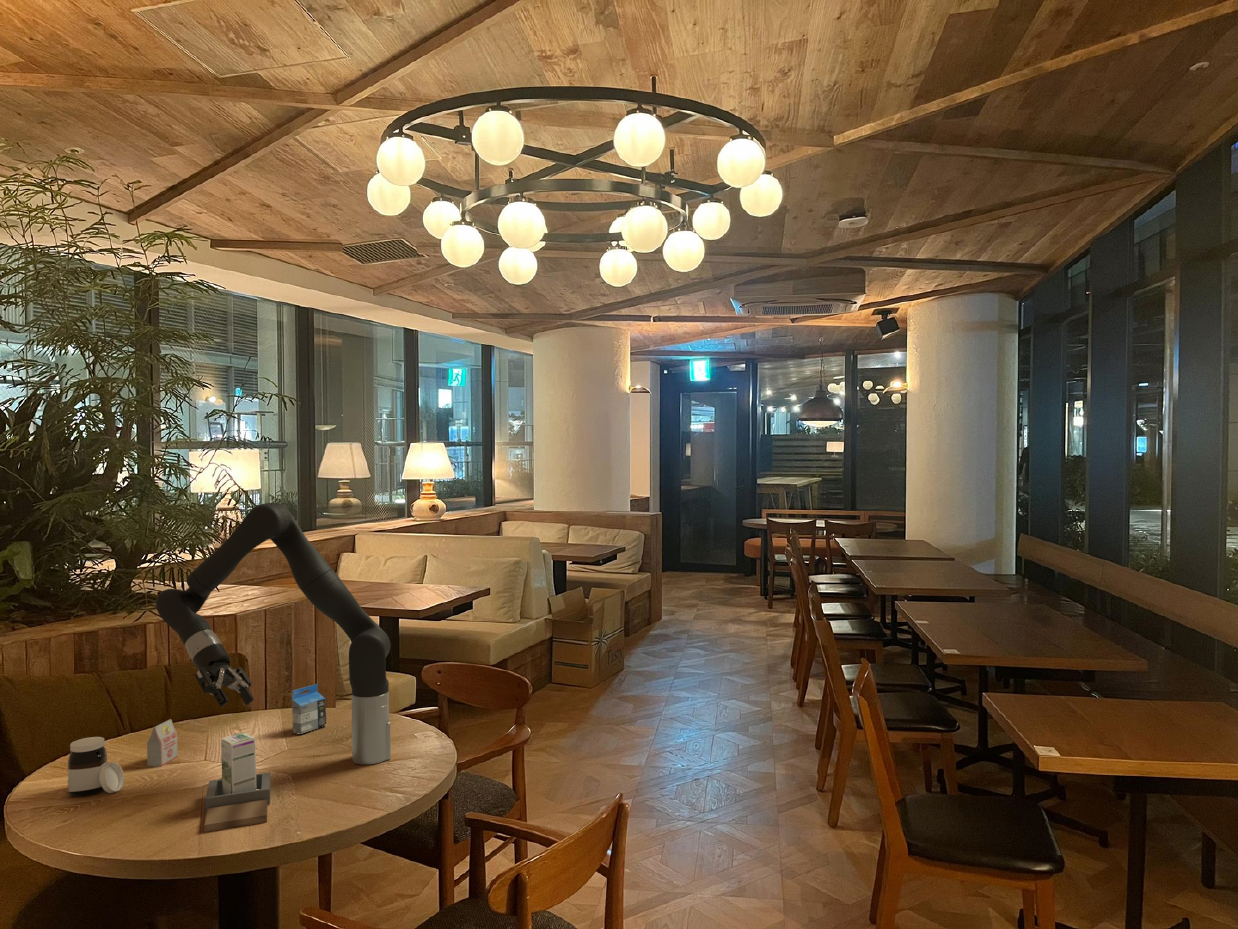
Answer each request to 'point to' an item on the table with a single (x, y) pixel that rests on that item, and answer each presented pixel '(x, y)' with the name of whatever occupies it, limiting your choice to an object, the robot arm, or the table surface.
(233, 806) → the walnut pad
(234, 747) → the syrup box
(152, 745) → the white gable top carton
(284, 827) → the table surface
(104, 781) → the spread jar
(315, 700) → the label tape box
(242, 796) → the gray open storage bin
